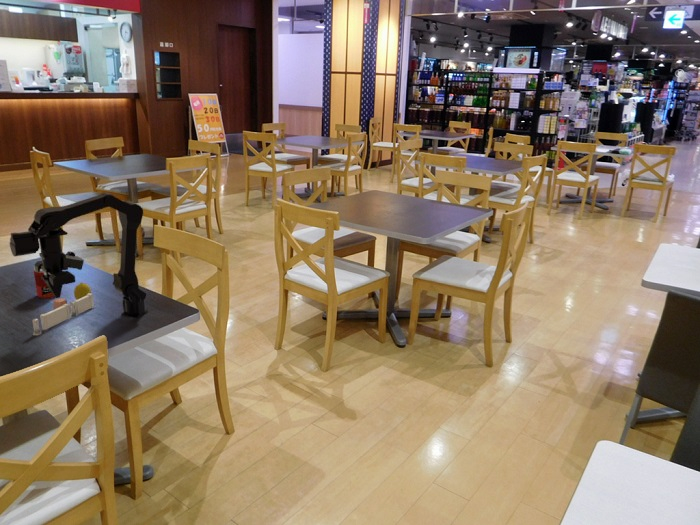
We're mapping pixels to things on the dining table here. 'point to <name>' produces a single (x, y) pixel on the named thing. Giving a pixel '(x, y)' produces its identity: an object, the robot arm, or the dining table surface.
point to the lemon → (81, 290)
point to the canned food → (42, 286)
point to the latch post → (36, 327)
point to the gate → (55, 316)
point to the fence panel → (84, 303)
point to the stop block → (59, 302)
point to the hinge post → (72, 309)
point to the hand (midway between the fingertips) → (57, 297)
